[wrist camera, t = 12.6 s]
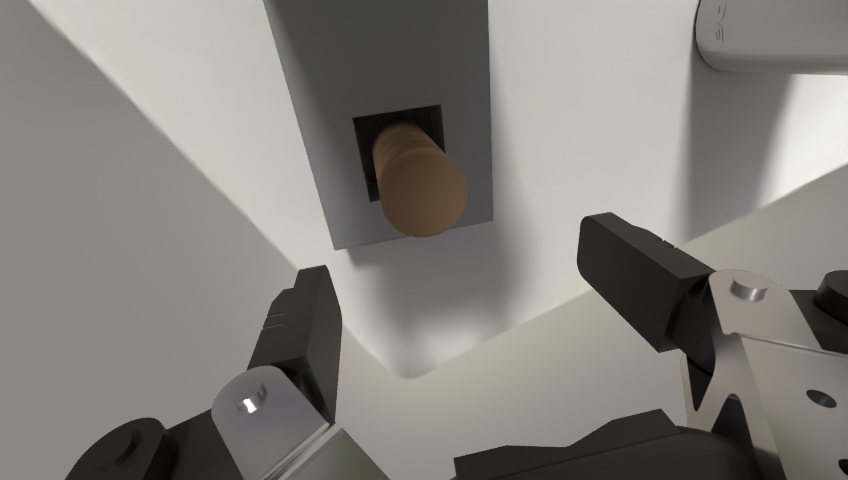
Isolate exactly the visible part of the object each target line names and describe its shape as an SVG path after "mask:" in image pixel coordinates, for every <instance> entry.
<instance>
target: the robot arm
mask: <svg viewBox="0 0 848 480" xmlns="http://www.w3.org/2000/svg"><path fill="white" fill-rule="evenodd" d="M696 41H697V45H698V49H699V52H700V54H701V56H702V57H703V59H704V61H705V62H706V63H707V64H708V65H710V66H711V67H712V68H715V69H717V70H719V71H728V72H757V73H781V74H814V75H847V76H848V0H701V3H700V6H699V9H698V15H697V22H696ZM577 266H578V269H579V272H580V274H581V276H582V277H583V278H584V279H585V280H586V281H587V282H588V283H589V284H590V285H591V286H592V287H593V288H594V289H595V290H596V291H597V292H598V293H599V294H600V295H601V296H602V297H603V298H604V299H605V300H606V301H607V302H608V303H609V304H610V305H611V306H612V307H613V308H614V309H615V310H616V311H617V312H618V313H619V314H620V315H621V316H622V317H623V318H624V319H625V320H626V321H627V322H628V323H629V324H630V325H631V326H632V327H633V328H634V329H635V330H636V331H637V332H638V333H639V334H640V335H641V336H642V337H643V338H645V340H646V341H648V343H650V345H651V346H652V347H654V349H655V350H656V351H657V352H658V353H661V352H665V351H669V350H673V349H678V348H679V349H681V350H682V351H683V352H684V353H683V356H682V359H681V370H682V379H683V387H684V396H685V404H686V412H687V421H688V427H683V426H675V425H674V423H673V422H672V421H671V420H670V419H669V417H668V416H667V415H666V414H665V413H664V412H663V411H662V409H657V410H652V411H649V412H644V413H640V414H636V415H632V416H628V417H624V418H619V419H615V420H611V421H610V422H608V423H607V424H605V425H603V426H602V427H600V428H598V429H597V430H595V431H594V432H592V433H590V434H589V435H587V436H585V437H584V438H583V439H581V440H579V441H577V442H576V443H574V444H572V445H570V446H567V447H537V446H507V445H506V446H502V447H498V448H494V449H490V450H486V451H481V452H477V453H473V454H469V455H465V456H460V457H456V458H454V464H455V471H456V476H455V477H454V478H452V479H451V480H848V270H840V271H833V272H830V273H828V274H826V275H825V277H824V279H823V281H822V283H821V285H820V286H819V288H818V290H788V289H786V288H785V287H784V286H783V285H781V284H780V283H778V282H776V281H774V280H772V279H770V278H767V277H765V276H762V275H759V274H756V273H752V272H747V271H741V270H721V271H715V270H714V269H712V268H710V267H709V266H707V265H705V264H703V263H702V262H700V261H698V260H697V259H695V258H693V257H692V256H690V255H688V254H687V253H685V252H683V251H682V250H680V249H678V248H674V246H673V245H672V244H670V243H668V242H667V241H665V240H664V241H662V238H660V237H658V236H657V235H655V234H653V233H652V232H650V231H648V230H646V229H643V228H640V227H637V226H634V225H631V224H630V223H628V222H626V221H625V220H623V219H621V218H620V217H618V216H617V215H615V214H613V213H611V212H607V213H601V214H596V215H591V216H586V217H584V218H583V219H582V221H581V225H580V235H579V244H578V253H577ZM341 335H342V315H341V310H340V305H339V302H338V299H337V296H336V293H335V289H334V286H333V283H332V280H331V277H330V273H329V270H328V268H327V266H326V265H322V266H316V267H311V268H306V269H300V270H299V272H298V275H297V278H296V281H295V284H294V288H290V289H285V290H283V291H282V292H281V293H280V294H279V295H278V296H277V298H276V299H275V300H274V301H273V302H272V304H271V307H270V309H269V312H268V315H267V318H266V320H265V323H264V325H263V330H262V331H261V333H260V336H259V339H258V341H257V344H256V347H255V349H254V352H253V355H252V357H251V360H250V363H249V365H248V368H247V371H245V372H243V373H241V374H240V375H238V376H236V377H235V378H234V379H232V380H231V381H230V382H229V383H228V384H226V386H224V387H223V389H222V390H221V391H220V392H219V394H218V395H217V397H216V398H215V400H214V402H213V405H212V408H211V409H210V410H208V411H205V412H204V413H201V414H199V415H197V416H195V417H193V418H191V419H189V420H187V421H184V422H182V423H180V424H178V425H176V426H174V427H172V428H170V429H167V430H166V429H165V427H164V426H163V425H162V424H161V422H159V420H157V419H155V418H141V419H136V420H133V421H130V422H128V423H125V424H123V425H121V426H119V427H118V428H116V429H114V430H112V431H111V432H109V433H108V434H106V435H105V436H104V437H102V438H101V439H99V440H98V441H97V442H96V443H95V444H93V445H92V446H91V447H90V448H89V449H88V450H87V451H86V452H85V453H84V454H83V455H82V457H81V458H80V459H79V460H78V461H77V463H76V464H75V465H74V467H73V468H72V470H71V471H70V473H69V474H68V476H67V477H66V479H65V480H390V479H389V478H388V477H387V476H386V475H385V474H384V473H383V472H382V471H381V469H380V468H379V467H378V466H377V465H376V464H375V463H374V462H373V461H372V460H371V459H370V457H369V456H368V455H367V454H366V453H365V452H364V451H363V450H362V449H361V448H360V446H359V445H358V444H357V443H356V442H355V441H354V440H353V439H352V438H351V437H350V435H349V434H348V433H347V432H346V431H345V430H344V429H343V428H342V427H341V426H340V425H338V424H337V423H336V422H335V411H336V398H337V386H338V373H339V360H340V348H341Z"/></svg>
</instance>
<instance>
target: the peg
mask: <svg viewBox="0 0 848 480" xmlns="http://www.w3.org/2000/svg"><path fill="white" fill-rule="evenodd" d="M371 147H372V153H373V159H374V165H375V171H376V176H377V182H378V188H379V194H380V200H381V206H382V209H383V212H384V215H385V217H386V218H387V220H388V221H389V223H390V224H391V225H392V226H393V227H394V228H395V229H397V230H398V231H400V232H402V233H404V234H406V235H409V236H413V237H430V236H434V235H437V234H440V233H442V232H444V231H446V230H447V229H449V228H450V227H451V226H452V225H453V224H454V223H455V222H456V221H457V220H458V219H459V218H460V216H461V214H462V213H463V211H464V208H465V206H466V202H467V196H468V190H467V184H466V180H465V178H464V176H463V174H462V172H461V171H460V169H459V168H458V167H457V166H456V165H455V164H454V163H453V162H452V161H451V159H450V158H449V157H448V156H447V155H446V154H445V153H444V152H443V151H442V150H441V149H440V148H439V147H438V146H437V145H436V144H435V143H434V142H433V140H432V139H431V138H430V137H429V136H428V135H427V134H426V133H425V132H424V131H423V130H422V129H421V128H420V127H419V126H418V125H417V124H416V123H415V122H414V121H413V120H412V119H410V118H408V117H406V116H402V115H392V116H388V117H386V118H384V119H382V120H381V121H380V122H379V123H378V124H377V125H376V127H375V128H374V130H373V133H372V136H371Z"/></svg>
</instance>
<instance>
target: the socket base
mask: <svg viewBox="0 0 848 480" xmlns="http://www.w3.org/2000/svg"><path fill="white" fill-rule="evenodd" d="M263 2H264V6H265V9H266V13H267V16H268V20H269V23H270V27H271V30H272V34H273V37H274V41H275V44H276V48H277V51H278V55H279V58H280V61H281V65H282V68H283V72H284V75H285V79H286V82H287V86H288V89H289V93H290V96H291V100H292V103H293V107H294V110H295V114H296V117H297V121H298V124H299V128H300V131H301V135H302V138H303V142H304V145H305V149H306V152H307V156H308V159H309V163H310V166H311V169H312V173H313V176H314V180H315V183H316V187H317V190H318V194H319V197H320V201H321V204H322V208H323V211H324V215H325V218H326V222H327V225H328V229H329V232H330V236H331V239H332V243H333V246H334V250H340V249H346V248H351V247H356V246H361V245H367V244H372V243H377V242H383V241H388V240H393V239H399V238H404V237H409V235H406V234H404V233H402V232H400V231H398V230H397V229H395V228H394V227H393V226H392V225H391V224H390V223H389V221H388V220H387V218H386V217H385V215H384V212H383V209H382V206H381V200H380V194H379V188H378V182H376V183H371V184H368V181H367V176H366V171H365V166H364V161H363V157H362V152H361V147H360V142H359V138H358V133H357V128H356V123H355V118H354V117H360V116H367V115H374V114H380V113H387V112H393V111H400V110H406V109H413V108H419V107H426V106H430V110H431V119H432V129H433V139H434V143H435V144H436V145H437V146H438V147H439V148H440V149H441V150H442V151H443V152H444V153H445V154H446V155H447V156H448V157H449V158H450V159H451V161H452V162H453V163H454V164H455V165H456V166H457V167H458V168H459V169H460V171H461V172H462V174H463V176H464V178H465V180H466V184H467V190H468V196H467V202H466V206H465V208H464V211H463V213H462V214H461V216H460V218H459V219H458V220H457V221H456V222H455V223H454V224H453V225H452V226H451V227H450V228H449V229H451V228H457V227H462V226H467V225H473V224H478V223H483V222H489V221H493V199H492V157H491V115H490V74H489V32H488V0H263Z"/></svg>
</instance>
